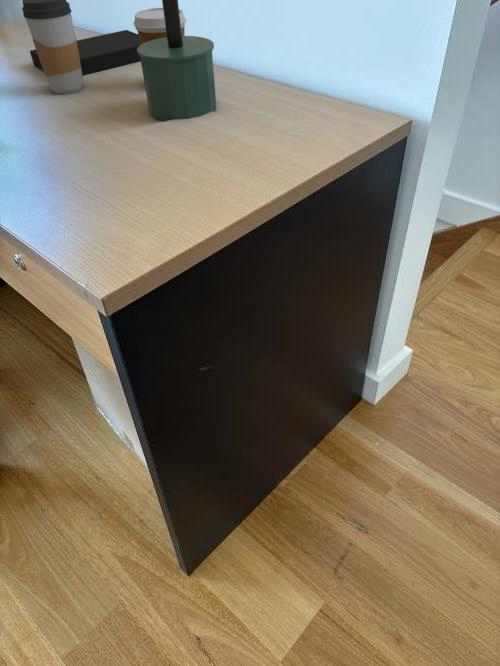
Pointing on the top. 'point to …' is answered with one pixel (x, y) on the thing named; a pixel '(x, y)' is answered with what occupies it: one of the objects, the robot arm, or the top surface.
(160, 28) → the disposable coffee cup
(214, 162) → the top surface
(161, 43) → the lid
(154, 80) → the pot
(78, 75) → the coffee cup
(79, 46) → the external hard drive
